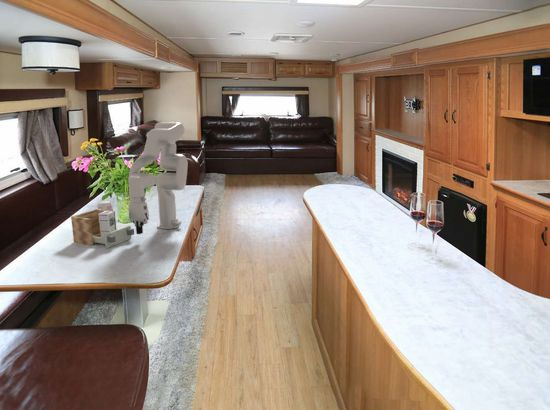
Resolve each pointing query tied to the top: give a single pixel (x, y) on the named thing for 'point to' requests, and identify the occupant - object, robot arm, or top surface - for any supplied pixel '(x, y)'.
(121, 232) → the tray
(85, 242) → the bay
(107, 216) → the syrup box
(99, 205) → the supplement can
